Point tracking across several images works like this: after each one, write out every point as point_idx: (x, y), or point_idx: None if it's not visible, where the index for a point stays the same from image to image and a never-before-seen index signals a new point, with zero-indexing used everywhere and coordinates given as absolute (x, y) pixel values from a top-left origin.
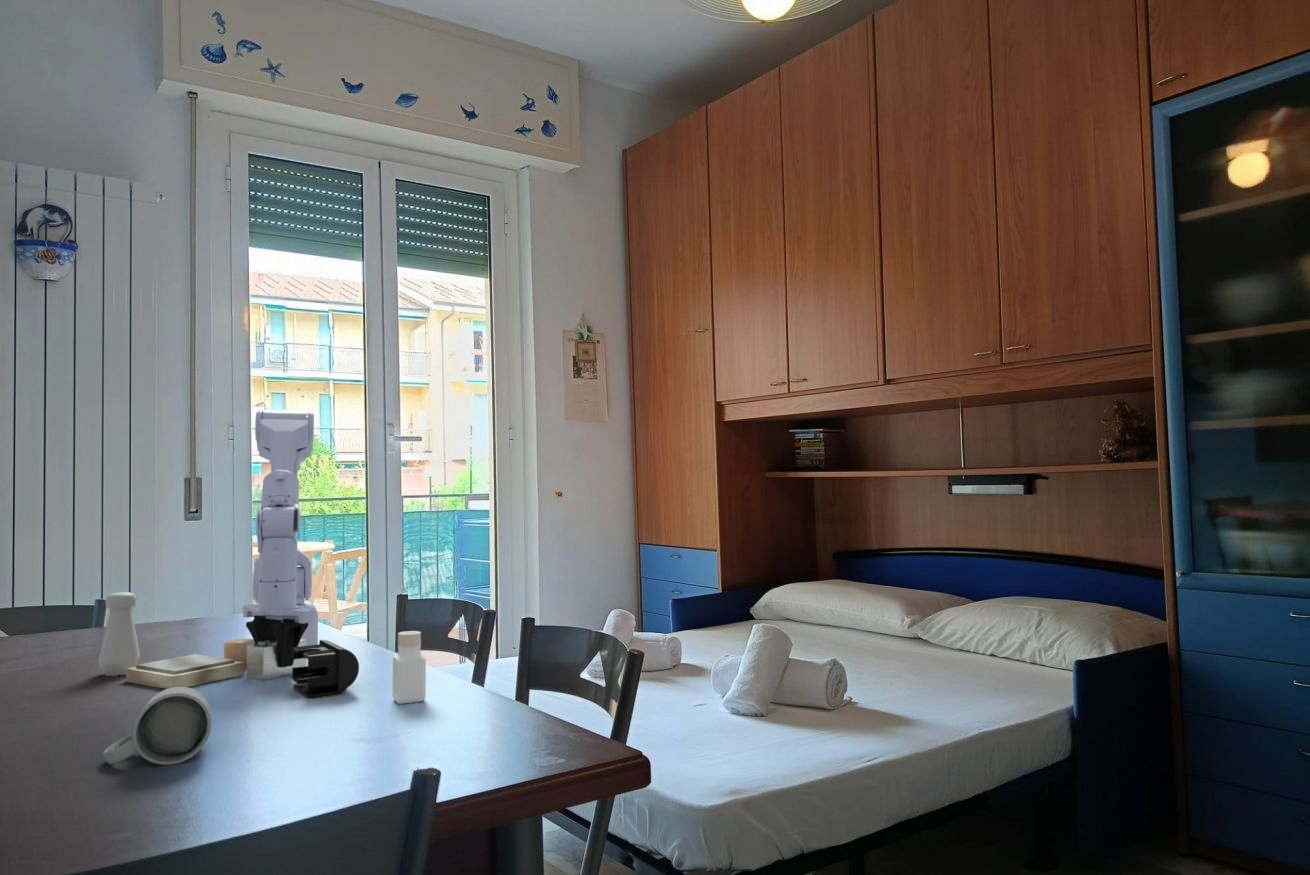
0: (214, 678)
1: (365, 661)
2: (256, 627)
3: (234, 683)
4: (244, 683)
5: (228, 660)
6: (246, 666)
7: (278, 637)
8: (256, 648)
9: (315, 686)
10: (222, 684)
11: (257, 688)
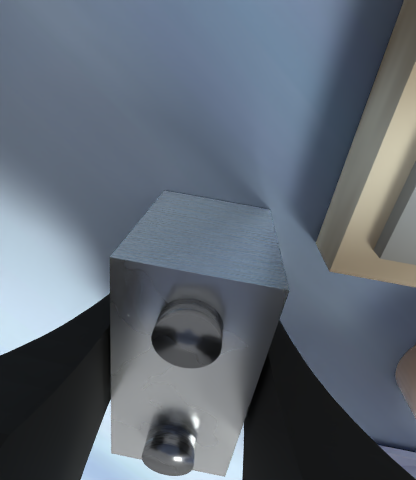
0: (375, 94)
1: (101, 444)
2: (291, 472)
3: (232, 91)
4: (187, 109)
5: (402, 231)
6: (406, 353)
7: (40, 361)
8: (187, 265)
9: None
10: (275, 47)
11: (43, 40)
